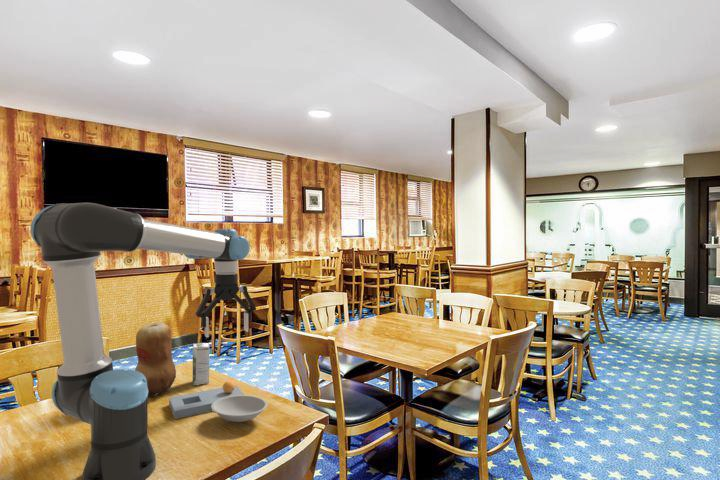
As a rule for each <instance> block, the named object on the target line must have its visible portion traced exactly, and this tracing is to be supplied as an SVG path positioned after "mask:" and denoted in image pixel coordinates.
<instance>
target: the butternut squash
mask: <svg viewBox="0 0 720 480" xmlns="http://www.w3.org/2000/svg"><path fill="white" fill-rule="evenodd" d="M172 344H173V340H172V330H171V327H170V326H169V325H168V324H167V323H164V322H154V323H150V324H146V325H144V326H141V328H140V329H138V330H137V332H136V337H135V351H136V355H137V365H136V366H135V369H134V370H135V371H138V372H140V373H142V374H143V375H144V376H145V377H146V380H147V387H148V396H157V395H158V394H160V393H165V392H166V391H168V390H169V389H170V388H172V385H173V383H174V382H175V379H176V378H177V377H176V376H177V370H176V367H175V366H176V365H175V363H174V360H173V348H172V346H173V345H172Z"/></svg>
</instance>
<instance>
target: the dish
mask: <svg viewBox="0 0 720 480" xmlns="http://www.w3.org/2000/svg"><path fill="white" fill-rule="evenodd" d="M267 408H268V402H267V400H265V399H264V398H262V397H260V396H255V395H248V394H244V395H235V396H228V397H224V398H221V399H218V400H216V401H215V402H213V403H212V405H211V409H212V410H213V411H212V412H214V413H215V414H217V415H218V416H219V417H220V418H221V419H224V420H226V421H228V422H232V423H242V422H247V421H251V420H253V419H255V418H257V417H258V416H259V415H260V414H261V413H263V411H265V410H267Z"/></svg>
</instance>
